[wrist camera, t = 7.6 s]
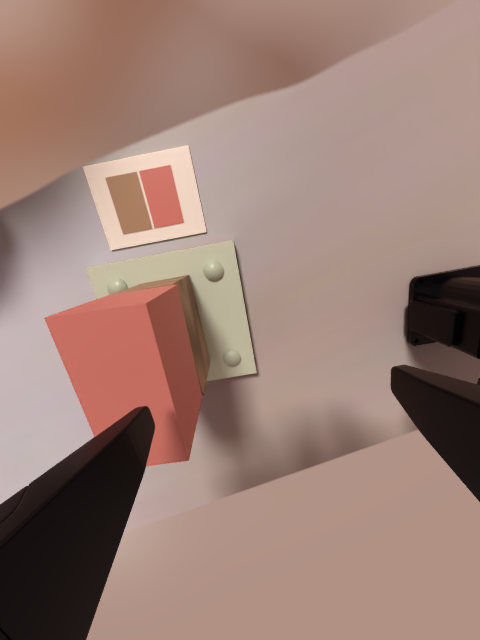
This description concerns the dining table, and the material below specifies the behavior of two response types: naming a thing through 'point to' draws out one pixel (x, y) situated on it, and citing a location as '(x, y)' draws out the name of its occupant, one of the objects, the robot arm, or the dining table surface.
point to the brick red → (133, 364)
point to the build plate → (210, 294)
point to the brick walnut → (187, 321)
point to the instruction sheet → (147, 197)
